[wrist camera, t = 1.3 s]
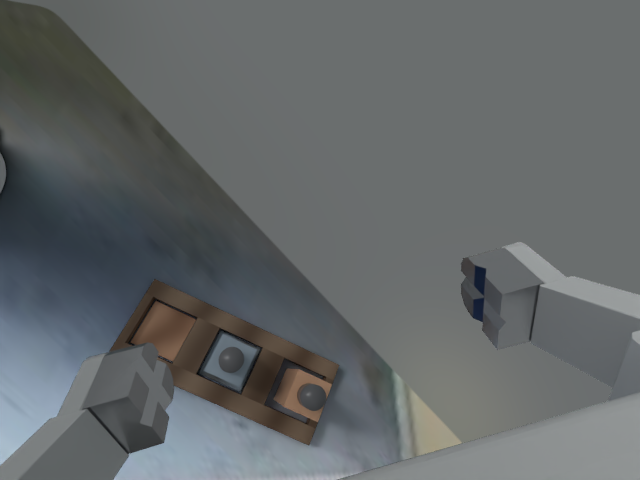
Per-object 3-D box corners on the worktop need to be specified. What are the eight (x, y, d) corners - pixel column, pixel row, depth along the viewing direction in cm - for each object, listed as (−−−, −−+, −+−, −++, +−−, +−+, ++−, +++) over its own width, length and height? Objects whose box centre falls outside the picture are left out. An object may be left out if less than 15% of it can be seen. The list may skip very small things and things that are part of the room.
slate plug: (207, 369, 46) (202, 371, 35) (223, 339, 48) (222, 331, 37) (237, 382, 46) (240, 388, 35) (251, 352, 48) (259, 348, 37)
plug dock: (110, 355, 44) (106, 355, 43) (156, 281, 48) (154, 278, 47) (306, 443, 46) (309, 445, 45) (336, 365, 50) (339, 365, 49)
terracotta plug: (273, 399, 47) (287, 409, 36) (286, 368, 49) (304, 369, 37) (301, 412, 47) (324, 426, 36) (314, 381, 49) (339, 385, 38)
